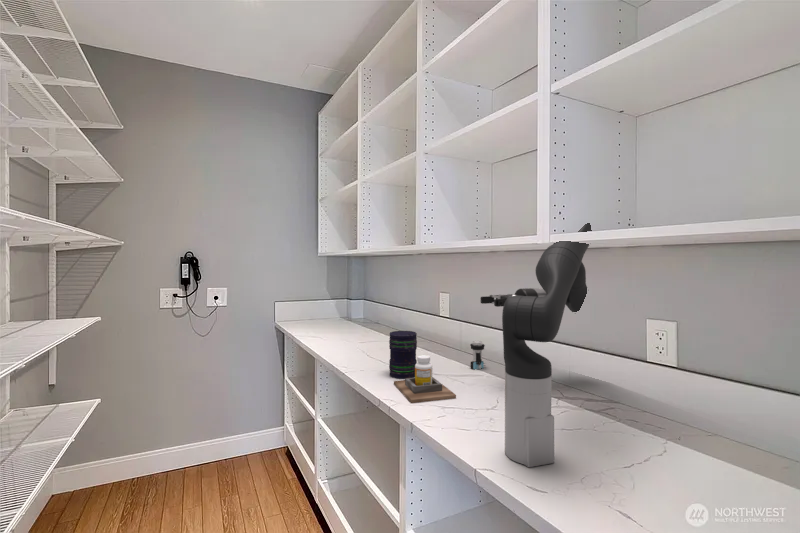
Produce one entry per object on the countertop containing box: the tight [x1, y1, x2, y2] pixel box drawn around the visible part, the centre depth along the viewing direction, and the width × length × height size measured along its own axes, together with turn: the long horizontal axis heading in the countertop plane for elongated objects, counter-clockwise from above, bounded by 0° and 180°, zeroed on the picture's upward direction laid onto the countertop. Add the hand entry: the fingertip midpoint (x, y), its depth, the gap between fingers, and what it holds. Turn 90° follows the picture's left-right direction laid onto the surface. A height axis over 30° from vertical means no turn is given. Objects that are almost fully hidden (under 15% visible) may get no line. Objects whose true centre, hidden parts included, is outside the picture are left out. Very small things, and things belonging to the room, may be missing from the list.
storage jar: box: [388, 330, 418, 380], centre depth 138 cm, size 10×10×15 cm
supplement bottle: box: [414, 354, 433, 386], centre depth 121 cm, size 5×5×10 cm
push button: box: [470, 340, 487, 370], centre depth 147 cm, size 7×5×10 cm
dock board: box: [393, 376, 457, 404], centre depth 121 cm, size 18×14×3 cm
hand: (487, 301), depth 121 cm, fingers open, 8 cm apart
